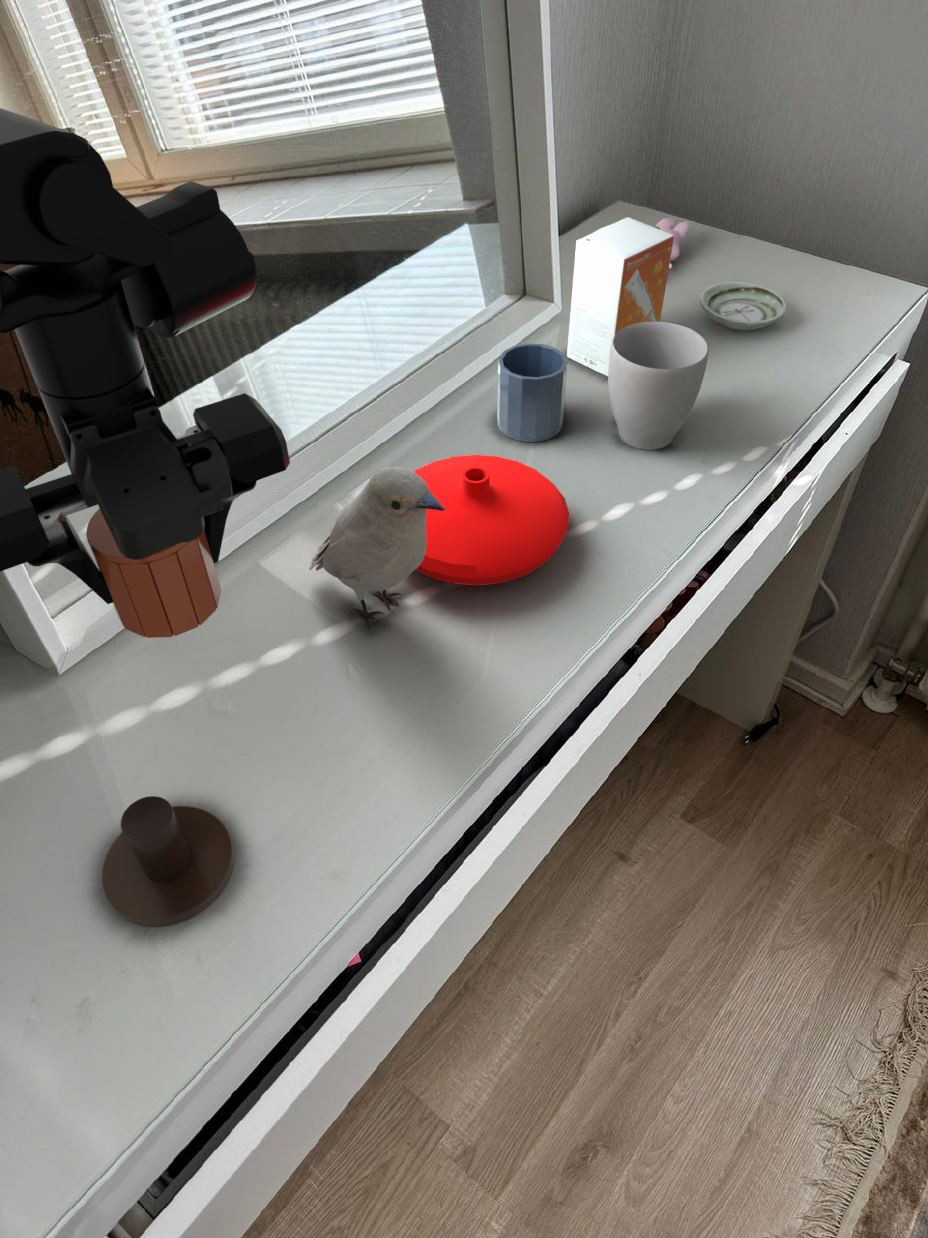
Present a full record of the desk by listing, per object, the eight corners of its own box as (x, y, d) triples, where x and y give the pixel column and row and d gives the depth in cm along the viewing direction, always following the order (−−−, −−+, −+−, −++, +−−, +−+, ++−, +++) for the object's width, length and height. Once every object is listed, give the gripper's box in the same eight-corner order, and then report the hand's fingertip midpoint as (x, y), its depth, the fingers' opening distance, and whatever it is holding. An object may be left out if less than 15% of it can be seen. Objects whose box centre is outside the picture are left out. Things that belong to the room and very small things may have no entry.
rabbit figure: (655, 304, 111) (702, 238, 118) (659, 260, 106) (708, 193, 113) (608, 292, 113) (657, 228, 120) (609, 248, 108) (661, 184, 115)
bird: (430, 664, 70) (422, 510, 59) (296, 595, 75) (266, 442, 64) (466, 625, 72) (465, 471, 62) (335, 561, 78) (312, 409, 67)
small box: (609, 379, 97) (624, 259, 88) (565, 357, 100) (574, 238, 91) (657, 351, 101) (676, 233, 91) (612, 330, 104) (626, 214, 95)
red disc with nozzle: (474, 462, 87) (474, 398, 82) (604, 539, 79) (613, 473, 74) (347, 541, 79) (338, 475, 74) (476, 634, 72) (476, 568, 66)
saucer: (739, 350, 101) (743, 330, 99) (679, 314, 106) (682, 295, 105) (800, 325, 104) (806, 305, 103) (739, 292, 110) (743, 273, 108)
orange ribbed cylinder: (136, 652, 59) (104, 573, 54) (105, 590, 63) (73, 511, 58) (235, 612, 62) (213, 532, 56) (199, 554, 66) (176, 475, 61)
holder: (128, 951, 54) (98, 905, 50) (89, 849, 59) (59, 799, 55) (254, 885, 57) (236, 836, 53) (207, 792, 62) (188, 741, 58)
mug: (667, 471, 86) (683, 380, 79) (584, 441, 89) (593, 351, 82) (719, 411, 93) (739, 323, 86) (640, 385, 96) (653, 298, 89)
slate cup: (521, 450, 88) (524, 386, 83) (485, 417, 92) (485, 354, 87) (575, 429, 91) (581, 366, 86) (537, 398, 95) (540, 336, 90)
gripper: (-65, 509, 42) (51, 721, 53) (310, 387, 48) (342, 598, 59) (-104, 395, 48) (6, 605, 59) (231, 302, 55) (272, 506, 66)
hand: (161, 579), depth 61 cm, fingers closed on orange ribbed cylinder, 7 cm apart
